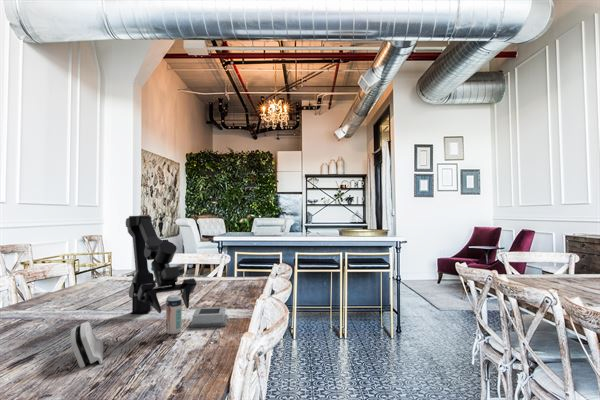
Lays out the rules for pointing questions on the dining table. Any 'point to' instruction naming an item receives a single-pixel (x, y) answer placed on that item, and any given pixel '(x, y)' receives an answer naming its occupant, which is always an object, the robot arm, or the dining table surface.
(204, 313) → the rail block
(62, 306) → the dining table surface
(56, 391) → the dining table surface
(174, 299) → the labelled cylindrical container
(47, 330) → the dining table surface
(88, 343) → the grey grooved device
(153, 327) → the dining table surface
